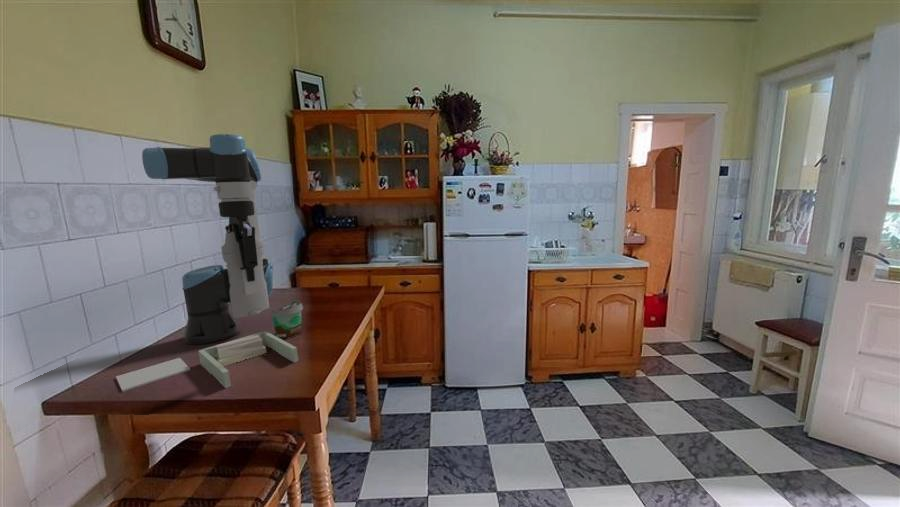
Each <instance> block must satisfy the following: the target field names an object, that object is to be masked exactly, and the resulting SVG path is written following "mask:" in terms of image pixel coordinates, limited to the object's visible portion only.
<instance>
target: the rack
mask: <svg viewBox="0 0 900 507" xmlns="http://www.w3.org/2000/svg"><path fill="white" fill-rule="evenodd" d="M257 335H259V336H260V338H261V339H262V343H263V345H264V344H265V345H264V346H266V345H267V346H268V347H267V346H266V347H267V348H269V347H270V348H272V349H273V350H272V349H271V350H272V351H274V350H275V351H276V352H275V351H274V352H275V353H277V352H278V353H277V354H279V355H280V356H282V357H283V358H285V359H287V360H289V361H290V362H292V363H294V364H295V363H297V362H299V356H298V355H299V354H298V348H297V347H296V346H294V345H293V344H291V343H289V342H287V341H285V339H280V338H278V337H277V336H276V335H275V334H272V333H270V332H269V331H267V330H264V331H261V332H256V333H253V334H250V335H247V336H244V337H240V338H237V339H236V338H235V339H234V340H230V341H226V342H224V343H228V342H232V341H236V340H240V339H245V338H249V337H253V336H257ZM224 343H219V344H218V345H220V344H224ZM270 348H269V349H270ZM215 354H217V349H216V345H212V346H209V347H206V348H202V349H199V350H198V357H199V362H200V365H201V366H202V367H203V368H204V369H205V370H206V371H207V372H208V373H209V374H210V375H211V374H212V375H213V376H214V377H215V378H216V379H217V380H218V381H219V382H218V381H217V380H216V379H215V378H214V377H213V376H212V375H211V376H212V377H213V378H214V379H215V380H216V381H217V382H218V383H219V384H221V385H222V386H223V387H224V389H228V388H231V387H232V383H231V376H230V371H229V370H228V369H227V368H226V366H225V367H223V366H222V365H221V364H220V363H219V362H218V361H216V360H215V359H214V355H215Z"/></svg>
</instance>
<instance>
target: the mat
mask: <svg viewBox="0 0 900 507" xmlns="http://www.w3.org/2000/svg"><path fill="white" fill-rule="evenodd" d="M190 371H191V368H190V367H189V366H188V365H187V364H186V363H185V362H184V360H183V359H182V358H181V357H177V358H174V359H171V360H167V361H164V362H161V363H160V362H159V363H157V364H154V365H151V366H146V367H144V368H141V369H136V370H133V371H129V372H127V373H123V374H119V375H116V376H115V378H116V380H117V383H118V385H119V388H120V389H121V392H122V393H123V392H126V391H130V390H133V389H137V388H139V387H143V386H145V385H148V384H152V383H154V382H155V383H156V382H158V381H160V380H164V379H167V378H170V377H173V376H176V375H181V374H183V373H186V372H190Z"/></svg>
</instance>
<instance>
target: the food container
mask: <svg viewBox="0 0 900 507" xmlns="http://www.w3.org/2000/svg"><path fill="white" fill-rule="evenodd" d="M302 310H304V306H303V304H302V303H301V301H300V300H296V299H295V300H294V299H293V300H292V303H290V304H288V305H284V306H282V307H281V308H279V309H275V310H271V313H270V317H271V318H272V321H273V326H274V330H275V336H276V337H278V338H280V339H282V340H284V339H283V338H287V339H289V338H288V337H291V338H293V337H292V336H295V335H297V336H299V335H300V334H301V333H302V332H303V331H302V329H303V327H302ZM301 331H302V332H301ZM299 333H300V334H299ZM298 334H299V335H298ZM295 337H296V336H295Z"/></svg>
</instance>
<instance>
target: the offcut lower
mask: <svg viewBox="0 0 900 507" xmlns="http://www.w3.org/2000/svg"><path fill="white" fill-rule="evenodd" d="M266 347H267V346H266V345H263V348H261V349H257V350H253V351H250V352H246V353H242V354H238V355H234V356H231V357H227V358H223V359H219V357H218V354H215V355H214V359H215V360H216V361H218V362H219V363H220V364H221V365H222V366H223V367H224V366H225V367H228V366H230V364H231V365H233V363H234V364H237V363H236V362H238V363H239V362H240V361H241V362H244V361H246V360H245V359H247V360H250V359H249V358H251V359H253V358H252V357H254V358H256V357H255V356H257V357H259V356H258V355H260V356H262V355H261V354H264V353H267V348H266ZM264 355H265V354H264ZM243 360H244V361H243ZM227 365H228V366H227Z"/></svg>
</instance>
